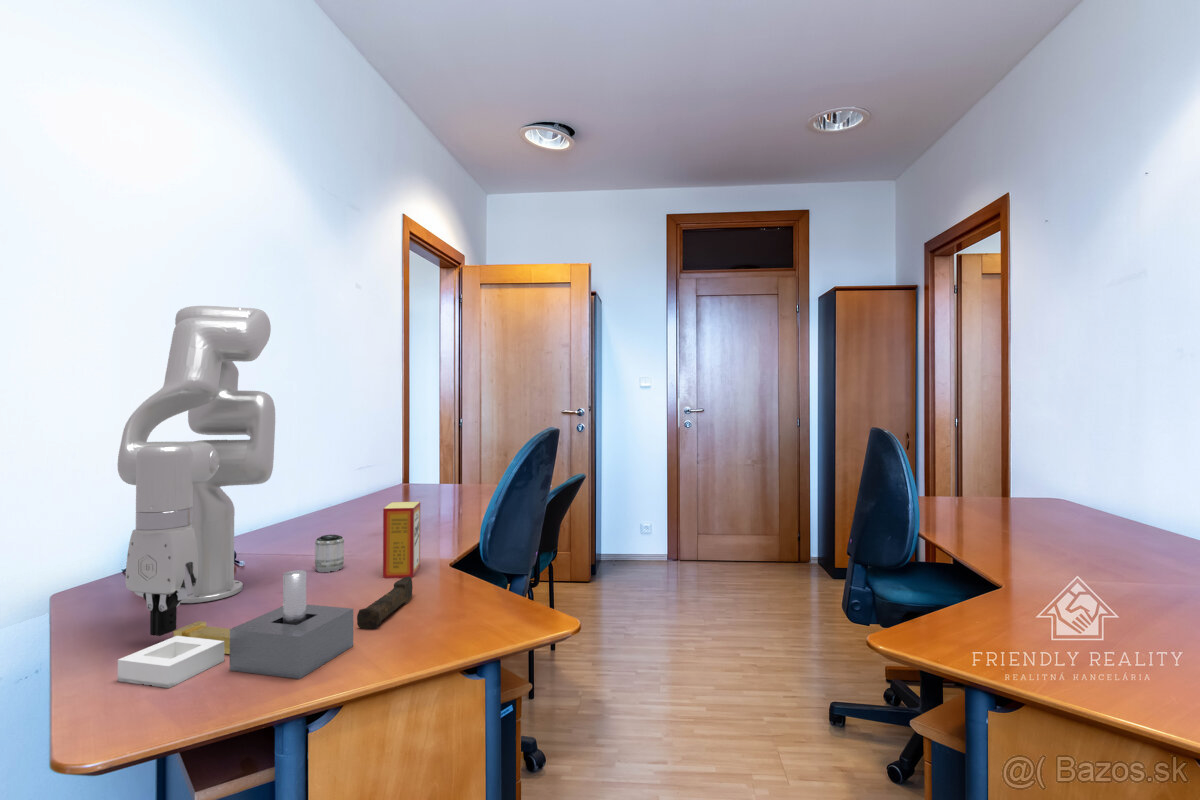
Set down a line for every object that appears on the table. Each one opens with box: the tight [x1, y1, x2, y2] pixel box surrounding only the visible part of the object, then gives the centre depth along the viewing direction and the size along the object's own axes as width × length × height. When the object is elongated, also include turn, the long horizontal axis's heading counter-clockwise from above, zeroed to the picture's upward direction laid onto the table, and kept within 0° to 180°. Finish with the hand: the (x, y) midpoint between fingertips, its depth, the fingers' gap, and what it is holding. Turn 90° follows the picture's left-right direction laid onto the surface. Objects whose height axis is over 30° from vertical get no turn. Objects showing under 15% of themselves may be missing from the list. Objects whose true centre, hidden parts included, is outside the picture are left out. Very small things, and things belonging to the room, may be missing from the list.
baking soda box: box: [382, 501, 421, 579], centre depth 139 cm, size 10×6×16 cm
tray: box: [117, 636, 225, 689], centre depth 87 cm, size 9×9×3 cm
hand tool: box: [356, 576, 414, 630], centre depth 113 cm, size 19×4×5 cm, turn 172°
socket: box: [229, 603, 354, 680], centre depth 92 cm, size 12×12×6 cm
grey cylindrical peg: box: [282, 569, 307, 625], centre depth 92 cm, size 3×3×13 cm
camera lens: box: [314, 534, 345, 573], centre depth 141 cm, size 6×6×8 cm
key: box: [173, 620, 231, 655], centre depth 95 cm, size 13×4×3 cm, turn 77°
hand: (163, 632), depth 97 cm, fingers closed
